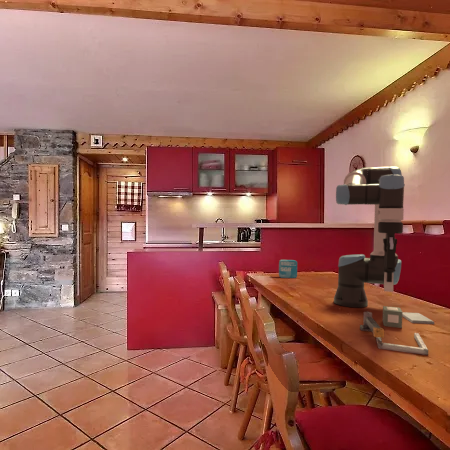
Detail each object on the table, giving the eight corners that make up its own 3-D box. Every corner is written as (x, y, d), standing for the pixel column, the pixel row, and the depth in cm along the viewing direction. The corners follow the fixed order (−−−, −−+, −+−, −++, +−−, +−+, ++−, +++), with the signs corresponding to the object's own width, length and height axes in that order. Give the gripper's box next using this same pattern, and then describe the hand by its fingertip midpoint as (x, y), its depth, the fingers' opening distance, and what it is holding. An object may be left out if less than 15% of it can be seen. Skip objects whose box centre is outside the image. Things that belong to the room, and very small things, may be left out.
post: (359, 326, 126) (360, 310, 126) (374, 328, 125) (375, 311, 125) (360, 330, 122) (360, 313, 122) (375, 332, 120) (375, 315, 120)
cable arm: (364, 322, 121) (364, 315, 121) (373, 323, 121) (373, 316, 121) (374, 336, 106) (374, 329, 106) (384, 337, 106) (384, 330, 106)
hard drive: (434, 321, 131) (419, 312, 144) (412, 320, 132) (399, 311, 145) (434, 325, 131) (419, 316, 144) (412, 324, 132) (399, 315, 145)
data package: (279, 277, 233) (279, 260, 233) (278, 276, 238) (279, 259, 238) (297, 278, 233) (297, 260, 233) (296, 277, 237) (296, 260, 237)
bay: (374, 332, 120) (375, 328, 120) (418, 337, 115) (418, 333, 115) (378, 348, 104) (378, 343, 104) (428, 355, 100) (428, 350, 100)
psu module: (382, 321, 134) (382, 305, 134) (399, 323, 132) (399, 307, 132) (384, 326, 127) (384, 309, 127) (402, 328, 125) (402, 311, 125)
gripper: (377, 220, 122) (375, 286, 123) (379, 221, 110) (377, 294, 110) (400, 221, 119) (398, 288, 120) (405, 221, 107) (403, 296, 108)
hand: (388, 291), depth 115 cm, fingers closed
